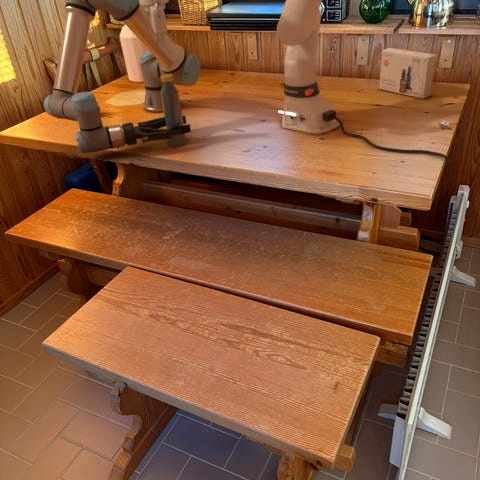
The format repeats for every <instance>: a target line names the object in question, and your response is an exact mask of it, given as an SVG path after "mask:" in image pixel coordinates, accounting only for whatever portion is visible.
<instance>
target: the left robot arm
mask: <svg viewBox="0 0 480 480" xmlns="http://www.w3.org/2000/svg"><path fill="white" fill-rule="evenodd" d="M64 11H65V13H66V19H65V22H64V28H63V29H64V30H63V34H62V39H61V45H60V50H59V57H58V62H57V66H56V73H55V78H54V82H53V90H52V94H49V95H47V96H46V97H45V99H44V100H43V108H44V111H45V112H46V113H47V114H48V116H50V117H54V118H56V119H59V120H61V119H63V120H69V121H72V122H77V124H78V127H79V130H78V131H76V132H75V139H76V144H77V147H78V150H79V151H80V153H82V154H88V153H97V152H101V151H106V150H111V149H118V150H119V149H120V148H122V147H125V146H135V145H137V144H138V141H137V140H141V143H147V142H154V141H155V142H156V141H165V140H169V139H172V138H173V136H174V135H179V134H185V135H186V134H190V133H192V130H191V124H187V117H186V115H182V118H183V124H184V125H182V126H177V127H171V129H167V128H166V122H165V117H164V116H161V117H157V118H153V119H149V120H146V121H139V122H137V125H136V126H134V123H133V122H126V123H125V122H124V123H122V124H113V125H108V126H107V125H106V126H104V124H103V121H102V117H101V111H100V112H99V108H98V105H99V103H98V101H97V99H96V95H95V94H94V93H93V92H91V91H80V92H78V89H79V83H80V78H81V74H82V69H83V63H84V59H85V58H84V57H85V53H86V47H87V42H88V38H89V32H90V28H91V23H92V22H93V21H95V19H96V14H97V12H98V11H106V12H107V13H108V14H109V15H110V16H111V17H112V18H113V19H114V20H115V21H116V22H118V23H124V25H125V24H126V25H127V27H128V28H129V29H130V30H131V31H132V32H133V33H134V34H135V35H136V36H137V38H138V39H139V40H140V41H141V42H142V43H143V44H144V45H145V46H146V47H147V49H148V50H149V51H147V52H144V53H142V54H141V55H140V66H141V71H142V75H143V80H144V82H143V85H144V89H145V93H144V103H143V107H144V111H146V112H149V113H164V111H163V106H162V100H161V95H160V93H161V89H162V87H163V84H164V83H163V82H161V77H160V76H162V75H165V74H172V75H173V81H172V83H173V85H175V86H182V87H192V86H194V85H196V84H197V82H198V81H199V78H200V76H201V68H202V67H201V62H200V59H199V58H198V56H197V55H194V54H188V53H187V51H186V50H185V49H184V48H183V47H182V46H181V45H179V44H175V43H174V42H173V41H172V39H171V38H170V36H168V34H165V46H166V47H165V48H162V49H161V48H160V46H159V44H158V43H157V39H156V35H155V32H154V30H153V28H152V26H151V25H150V22H149V19H148V15H147V12H146V11H145V7H144V6H143V5H140V4H139V0H65V6H64ZM96 101H97V102H96ZM97 103H98V104H97Z"/></svg>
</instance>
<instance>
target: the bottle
mask: <svg viewBox="0 0 480 480" xmlns="http://www.w3.org/2000/svg"><path fill="white" fill-rule="evenodd" d="M163 83H164V84H163V87H162V89H161V93H160V95H161V100H162V106H163V111H164V112H163V117H165V122H166V126H165V129H171V127H177V126H182V125H185V124H183V118H182V116H183V113H182V105H181V100H180V99H181V98H180V93H179V90H178V88H177V87H176V85H174V84H173V83H172V81H170V82H163ZM186 143H187V137H186V133H185V134H179V135H174V136H173V138H172V139H168V144H169V145H170V146H172V147H179V146H182V145H184V144H186Z"/></svg>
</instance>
